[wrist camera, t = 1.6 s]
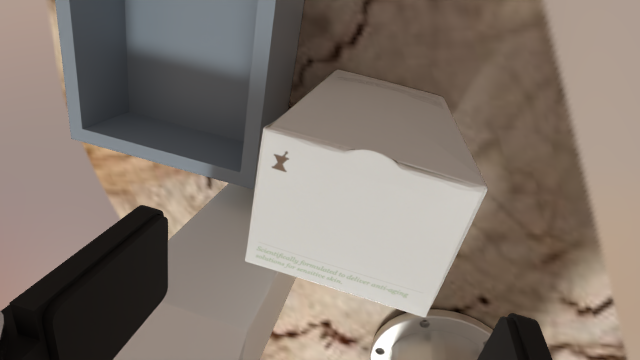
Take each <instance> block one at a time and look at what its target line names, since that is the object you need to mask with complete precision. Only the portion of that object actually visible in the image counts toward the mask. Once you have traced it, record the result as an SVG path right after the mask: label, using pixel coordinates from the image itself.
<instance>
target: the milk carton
mask: <svg viewBox="0 0 640 360" xmlns="http://www.w3.org/2000/svg"><path fill="white" fill-rule="evenodd" d="M254 192H255V188H254V189H249V188H246V187H242V186H238V185H235V184H231V183H229V184H227V185H226V186H225V187H224V188H223V189H222V190H221V191H220V192H219V193H218V194H217V195H216V196H215V197H214V198H213V199H212V200H211V201H209V202H208V203H207V204H206V205H205V206H204V207H203V208H202V209H201V210H200V211H199V212H198V213H197V214H196V215H195V216H194V217H193V218H192V219H190V220H189V221H188V222H187V223H186V224H185V225H184V226H183V227H182V228H181V229H180V230H179V231H178V232H177V233H176V234H175V235H174V236H172V237H171V238H170V239H169V240H168V290H167V293H166V296H165V297H164V299H163V300H162V302H161V303H160V304H159V305H158V306H157V308H156V309H155V310H154V311H153V312H152V314H151V315H150V316H149V317H148V318H147V320H146V321H145V322H144V323H143V324H142V326H141V327H140V328H139V329H138V330H137V331H136V333H135V334H134V335H133V336H132V337H131V339H130V340H129V341H128V342H127V343H126V345H125V346H124V347H123V348H122V349H121V351H120V352H119V353H118V354H117V355H116V357H115V358H114V359H113V360H260V358H261V355H262V353H263V351H264V349H265V346H266V344H267V342H268V340H269V337H270V335H271V333H272V331H273V328H274V326H275V324H276V321H277V319H278V317H279V315H280V312H281V310H282V308H283V306H284V303H285V301H286V299H287V297H288V294H289V292H290V290H291V288H292V285H293V283H294V281H295V278H296V277H295V276H292V275H288V274H285V273H282V272H279V271H276V270H272V269H269V268H266V267H262V266H259V265H256V264H253V263H249V262H246V261H245V257H246V251H247V244H248V237H249V230H250V222H251V214H252V207H253V199H254Z"/></svg>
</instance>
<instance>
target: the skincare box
mask: <svg viewBox="0 0 640 360" xmlns="http://www.w3.org/2000/svg"><path fill="white" fill-rule="evenodd" d="M487 189H488V187H487V185H486V183H485V181H484V179H483V177H482V175H481V173H480V171H479V169H478V167H477V165H476V163H475V161H474V159H473V157H472V155H471V153H470V151H469V149H468V147H467V145H466V143H465V141H464V139H463V137H462V135H461V132H460V131H459V129H458V126H457V124H456V122H455V120H454V118H453V116H452V114H451V112H450V110H449V108H448V106H447V104H446V102H445V100H444V97H441V96H438V95H435V94H431V93H428V92H424V91H420V90H417V89H413V88H409V87H405V86H402V85H398V84H394V83H390V82H386V81H383V80H379V79H375V78H371V77H367V76H363V75H359V74H355V73H351V72H347V71H342V70H335V71H334V72H333V73H332V74H330V75H329V76H328V77H327V78H326V79H325V80H324V81H322V82H321V83H320V84H319V85H318V86H317V87H315V88H314V89H313V90H312V91H311V92H309V93H308V94H307V95H306V96H305V97H303V98H302V99H301V100H300V101H299V102H298V103H296V104H295V105H294V106H293V107H292V108H291V109H289V110H288V111H287V112H286V113H285V114H283V115H282V116H281V117H280V118H278V119H277V120H276V121H274V122H273V123H271V124H270V125H267V126H265V127H264V128H263V134H262V140H261V147H260V154H259V161H258V169H257V176H256V184H255V192H254V199H253V207H252V214H251V222H250V230H249V237H248V244H247V251H246V257H245V261H246V262H249V263H253V264H256V265H259V266H262V267H266V268H269V269H272V270H276V271H279V272H282V273H285V274H288V275H292V276H295V277H298V278H301V279H305V280H308V281H311V282H314V283H317V284H320V285H324V286H327V287H330V288H333V289H336V290H339V291H342V292H346V293H349V294H352V295H355V296H358V297H362V298H365V299H368V300H371V301H374V302H377V303H381V304H384V305H387V306H390V307H393V308H396V309H399V310H402V311H405V312H408V313H411V314H414V315H418V316H421V317H426V316H427V313H428V311H429V309H430V307H431V305H432V304H433V302H434V300H435V298H436V296H437V294H438V292H439V290H440V288H441V286H442V284H443V282H444V280H445V278H446V275H447V273H448V271H449V269H450V267H451V265H452V263H453V261H454V259H455V257H456V255H457V253H458V251H459V249H460V247H461V245H462V242H463V240H464V238H465V236H466V234H467V232H468V230H469V228H470V226H471V224H472V221H473V219H474V217H475V215H476V213H477V211H478V209H479V207H480V205H481V203H482V201H483V199H484V196H485V194H486V192H487Z"/></svg>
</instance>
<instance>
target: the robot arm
mask: <svg viewBox="0 0 640 360" xmlns="http://www.w3.org/2000/svg"><path fill="white" fill-rule="evenodd" d="M167 290H168V220H167V218H166V217H164V215H163V212H162V211H161V210H158V209H154V208H151V207H148V206H144V205H140V206H139V207H137V208H136V209H134V210H133V211H132V212H130V213H129V214H128V215H126V216H125V217H124V218H122V219H121V220H120V221H118V222H117V223H116V224H114V225H113V226H112V227H110V228H109V229H107V230H106V231H105V232H103V233H102V234H101V235H99V236H98V237H97V238H95V239H94V240H93V241H91V242H90V243H89V244H88V245H86V246H85V247H83V248H82V249H81V250H79V251H78V252H77V253H75V254H74V255H73V256H71V257H70V258H69V259H67V260H66V261H65V262H63V263H62V264H61V265H59V266H58V267H57V268H55V269H54V270H53V271H51V272H50V273H49V274H47V275H46V276H45V277H43V278H42V279H41V280H39V281H38V282H37V283H35V284H34V285H33V286H31V287H30V288H29V289H27V290H26V291H25V292H24V293H22V294H21V295H19V296H18V297H17V298H15V299H14V300H13V301H11V302H10V305H8V306H7V307H6V308H4V309H3V310H2V311H0V360H113V359H114V358H115V357H116V355H117V354H118V353H119V352H120V351H121V349H122V348H123V347H124V346H125V345H126V343H127V342H128V341H129V340H130V339H131V337H132V336H133V335H134V334H135V333H136V331H137V330H138V329H139V328H140V327H141V326H142V324H143V323H144V322H145V321H146V320H147V318H148V317H149V316H150V315H151V314H152V312H153V311H154V310H155V309H156V308H157V306H158V305H159V304H160V303H161V302H162V300H163V299H164V297H165V296H166V293H167ZM370 360H552V357H551V355H550V352H549V349H548V347H547V344H546V342H545V339H544V336H543V334H542V331H541V329H540V326H539V324H538V322H537V321H536V320H534V319H531V318H527V317H524V316H521V315H517V314H514V313H511V314H509V315H508V317H501V318H500V319H499V321H498V323H497V324H496V326H495V328H494V330H492V329H491V328H489V327H488V326H486V325H485V324H483V323H482V322H480V321H478V320H476V319H474V318H472V317H469V316H467V315H464V314H460V313H457V312H453V311H446V310H438V309H429V311H428V313H427V316H426V317H421V316H418V315H414V314H411V313H405V314H402V315H399V316H397V317H395V318H393V319H392V320H390V321H388V322H387V323H386V324H385V325H384V326H382V327H381V328H380V330H379V331H378V332H377V334H376V335H375V337H374V340H373V342H372V346H371V352H370Z"/></svg>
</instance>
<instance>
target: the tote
mask: <svg viewBox="0 0 640 360" xmlns="http://www.w3.org/2000/svg"><path fill="white" fill-rule="evenodd" d="M304 1H305V0H55V2H56V11H57V20H58V28H59V37H60V46H61V54H62V63H63V72H64V80H65V89H66V97H67V106H68V115H69V123H70V132H71V139H75V140H78V141H82V142H85V143H89V144H92V145H96V146H99V147H103V148H107V149H110V150H114V151H117V152H121V153H124V154H128V155H132V156H135V157H139V158H142V159H146V160H149V161H153V162H156V163H160V164H164V165H167V166H171V167H174V168H178V169H181V170H185V171H189V172H192V173H196V174H199V175H203V176H206V177H210V178H213V179H217V180H221V181H224V182H228V183H231V184H235V185H238V186H242V187H246V188H249V189H254V188H255V184H256V176H257V169H258V161H259V154H260V147H261V140H262V134H263V128H264V127H265V126H267V125H270V124H271V123H273V122H274V121H276V120H277V119H278V118H280V117H281V116H282V115H283V114H285V113H286V112H287V111H288V107H289V101H290V94H291V87H292V81H293V74H294V68H295V61H296V54H297V48H298V41H299V34H300V28H301V21H302V15H303V8H304Z"/></svg>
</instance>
